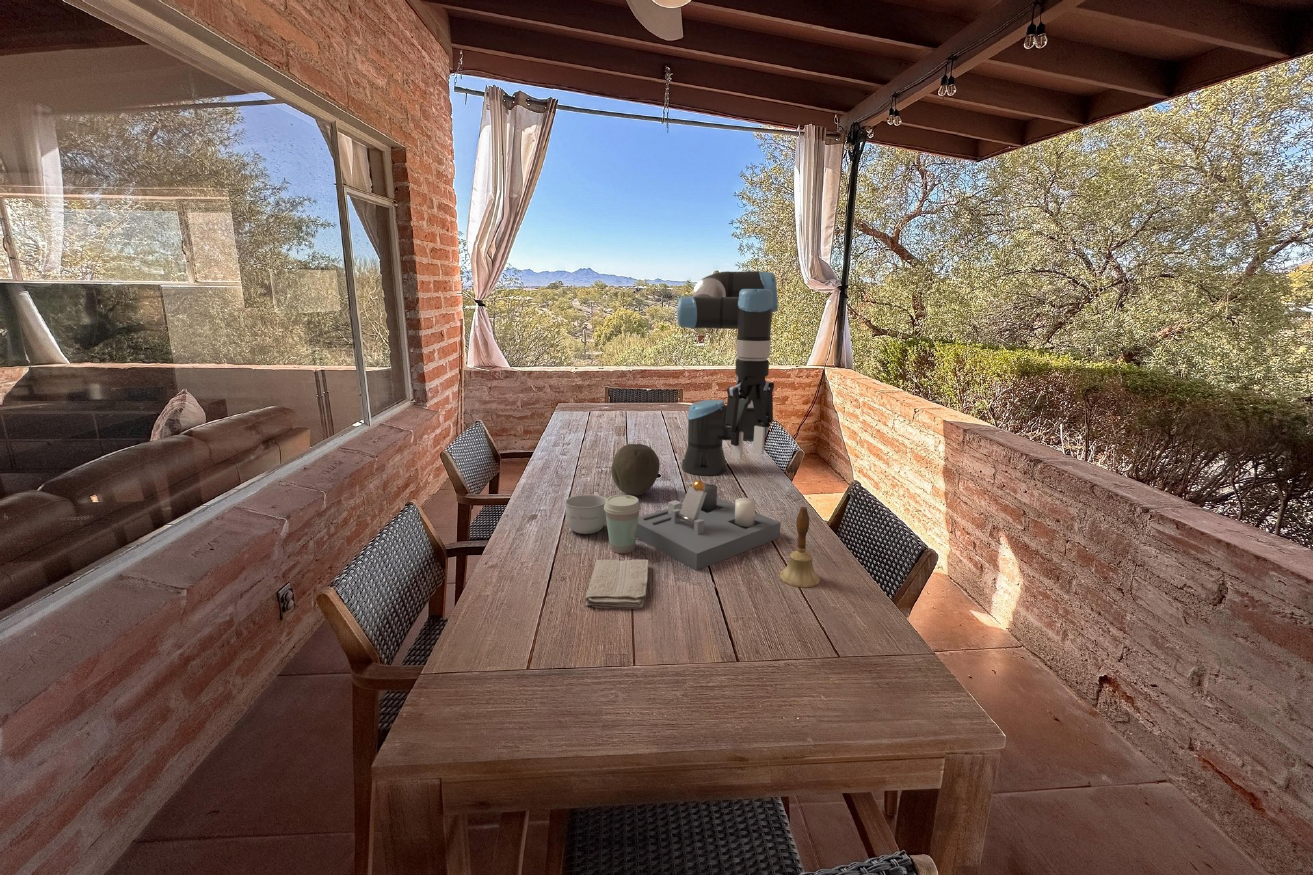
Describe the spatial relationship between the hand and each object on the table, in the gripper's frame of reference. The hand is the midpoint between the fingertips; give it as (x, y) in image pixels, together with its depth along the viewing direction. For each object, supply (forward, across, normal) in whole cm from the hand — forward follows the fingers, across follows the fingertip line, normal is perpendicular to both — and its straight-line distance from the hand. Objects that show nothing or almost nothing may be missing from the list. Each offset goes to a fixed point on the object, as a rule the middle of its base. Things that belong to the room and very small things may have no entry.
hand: (747, 455), depth 137 cm
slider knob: (+17, +10, -14) cm, 24 cm away
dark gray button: (+17, 0, -13) cm, 21 cm away
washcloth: (+22, +38, 0) cm, 44 cm away
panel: (+21, +7, -6) cm, 23 cm away
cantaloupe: (+21, +2, -42) cm, 47 cm away
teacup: (+21, +27, -26) cm, 43 cm away
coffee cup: (+21, +27, -14) cm, 37 cm away
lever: (+15, +13, -6) cm, 21 cm away
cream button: (+17, 0, 0) cm, 17 cm away
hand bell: (+21, +6, +22) cm, 31 cm away
